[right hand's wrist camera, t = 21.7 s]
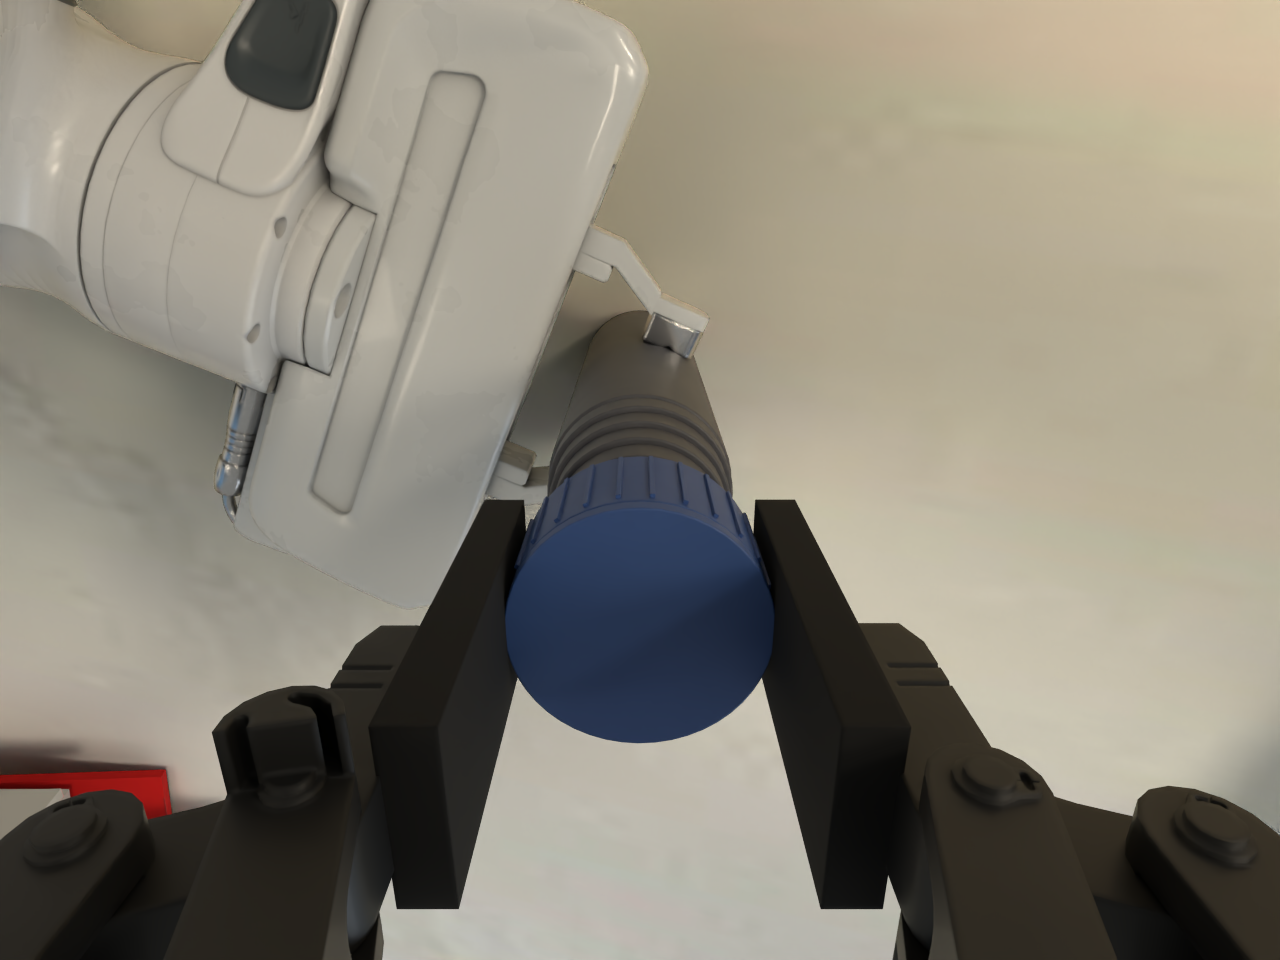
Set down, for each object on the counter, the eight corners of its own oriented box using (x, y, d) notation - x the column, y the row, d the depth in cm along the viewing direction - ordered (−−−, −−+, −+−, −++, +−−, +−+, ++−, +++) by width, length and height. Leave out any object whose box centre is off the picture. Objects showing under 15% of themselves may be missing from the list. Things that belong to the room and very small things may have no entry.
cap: (476, 523, 14) (444, 587, 12) (688, 409, 13) (698, 453, 11) (598, 696, 16) (590, 783, 13) (796, 601, 15) (825, 677, 13)
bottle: (677, 426, 33) (730, 745, 14) (576, 402, 33) (485, 695, 13) (705, 325, 31) (809, 525, 12) (599, 298, 31) (533, 461, 12)
